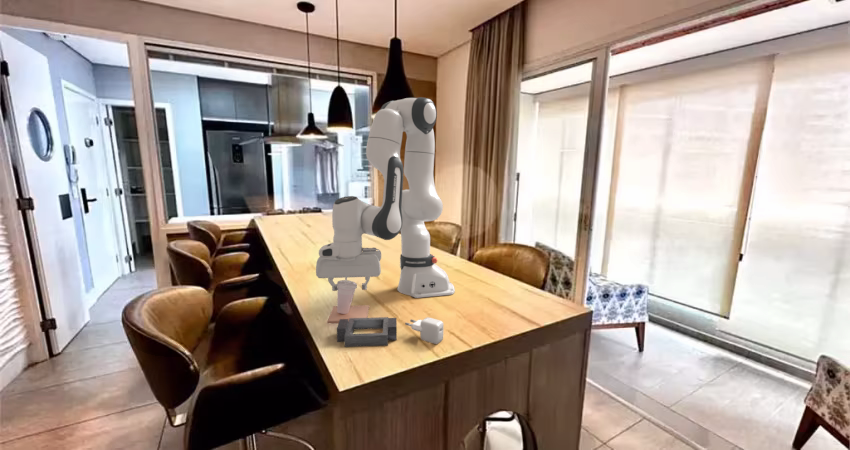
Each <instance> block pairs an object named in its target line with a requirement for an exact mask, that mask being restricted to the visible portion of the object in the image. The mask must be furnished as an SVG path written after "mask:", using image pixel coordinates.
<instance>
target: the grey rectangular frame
mask: <svg viewBox="0 0 850 450" xmlns="http://www.w3.org/2000/svg"><path fill="white" fill-rule="evenodd" d="M397 328H398V327H397V317H388V316H385V317H378V316H377V317H368V318H349V322H348V319H340V321H339V323H337V327H336V342H337V343H344V348H349V347H354V348H355V347H377V346H378V347H379V346H388V345H389V341H397V337H398V336H397V333H398V332H397ZM355 330H382V332H373V333H372V332H369V333H366V332H365V333H354V331H355Z"/></svg>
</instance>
